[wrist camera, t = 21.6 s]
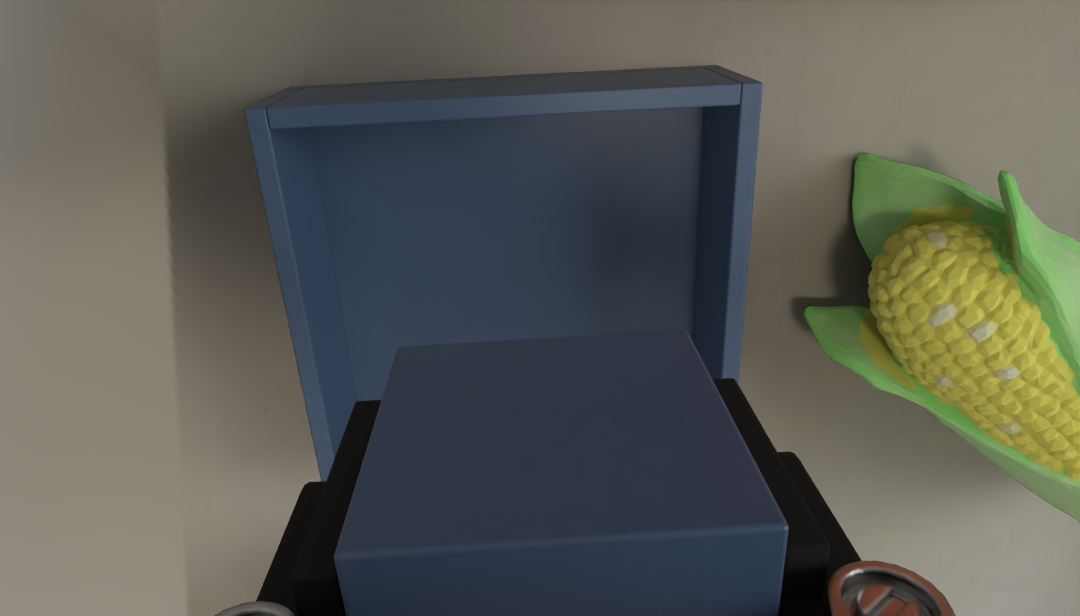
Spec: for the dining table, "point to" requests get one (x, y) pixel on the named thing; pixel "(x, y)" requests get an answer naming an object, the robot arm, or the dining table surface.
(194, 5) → the dining table surface
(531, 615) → the slate block
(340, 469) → the robot arm
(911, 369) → the corn
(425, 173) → the slate bin
